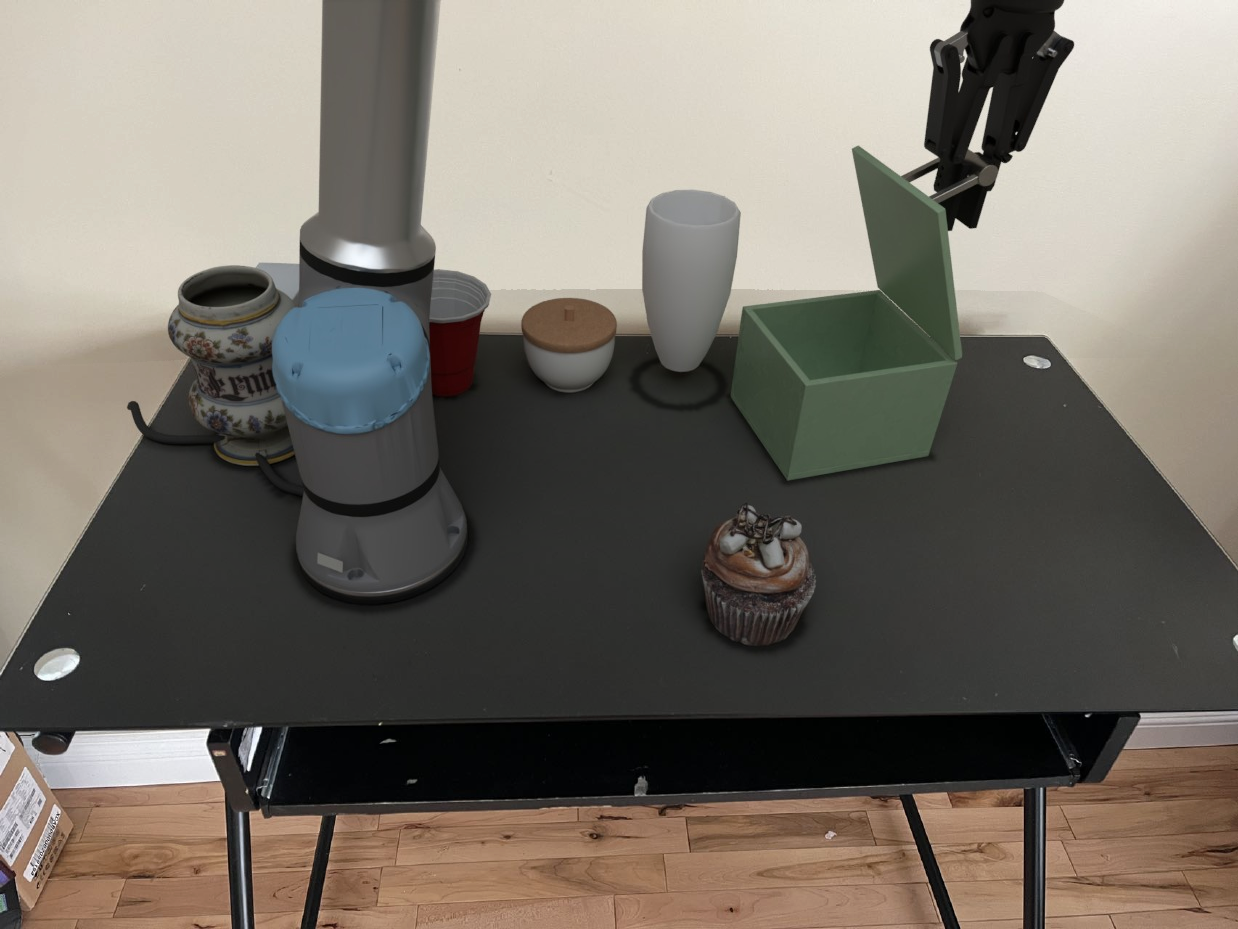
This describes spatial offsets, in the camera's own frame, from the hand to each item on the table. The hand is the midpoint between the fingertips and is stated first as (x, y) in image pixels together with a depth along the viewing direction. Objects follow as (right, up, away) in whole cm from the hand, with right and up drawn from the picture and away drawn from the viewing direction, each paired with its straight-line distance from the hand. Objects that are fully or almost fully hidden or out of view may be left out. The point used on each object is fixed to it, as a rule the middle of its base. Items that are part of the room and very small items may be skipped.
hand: (953, 223), depth 89 cm
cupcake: (-21, -37, -10) cm, 43 cm away
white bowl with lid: (-39, -14, +18) cm, 45 cm away
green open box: (-10, -19, +12) cm, 25 cm away
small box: (-70, -14, +15) cm, 73 cm away
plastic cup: (-52, -14, +16) cm, 57 cm away
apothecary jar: (-70, -21, +7) cm, 74 cm away
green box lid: (-5, -3, +1) cm, 6 cm away
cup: (-26, -14, +18) cm, 34 cm away
